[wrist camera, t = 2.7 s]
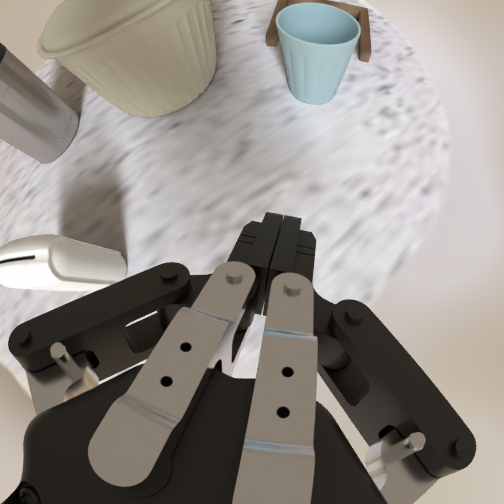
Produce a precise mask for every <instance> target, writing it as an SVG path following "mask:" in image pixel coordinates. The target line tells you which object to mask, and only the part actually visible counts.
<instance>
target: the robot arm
mask: <svg viewBox="0 0 504 504" xmlns="http://www.w3.org/2000/svg"><path fill="white" fill-rule="evenodd" d="M78 123H79V117H78V114H77V112H76V111H75V110H74V109H73V108H72V107H71V106H69V105H68V104H67V103H66V102H65V101H64V100H63V99H62V98H61V97H60V96H58V95H57V94H56V93H55V92H54V91H53V90H52V89H51V88H50V87H49V86H47V85H46V84H45V83H44V82H43V81H42V80H41V79H40V78H39V77H37V76H36V75H35V74H34V73H33V72H32V71H31V70H30V69H29V68H28V67H26V66H25V65H24V64H23V63H22V62H21V61H20V60H19V59H17V58H16V57H15V56H14V55H13V54H12V53H11V52H10V51H9V50H8V49H7V48H6V47H5V46H4V45H2V44H1V43H0V139H2V140H3V141H5V142H7V143H9V144H10V145H12V146H14V147H15V148H17V149H19V150H20V151H22V152H24V153H25V154H27V155H29V156H31V157H32V158H34V159H36V160H37V161H39V162H41V163H49V162H52V161H53V160H55V159H56V158H58V157H59V156H60V155H61V154H62V153H63V152H64V151H65V150H66V148H67V147H68V146H69V144H70V143H71V141H72V139H73V137H74V135H75V133H76V131H77V128H78ZM301 219H302V218H297V217H292V216H287V215H285V216H284V219H283V215H281V214H276V213H270V212H266V214H265V216H264V219H263V221H262V223H260V222H255V221H251V222H250V223H248V224H247V225H246V226H244V228H243V230H242V232H241V234H240V236H239V238H238V240H237V242H236V244H235V246H234V248H233V250H232V252H231V254H230V257H229V259H228V261H227V262H226V263H223V264H221V265H219V266H218V267H217V268H216V269H215V270H214V272H213V273H212V274H208V275H190V273H189V270H188V269H187V268H186V267H185V266H184V265H182V264H180V263H175V262H169V263H163V264H160V265H158V266H155V267H153V268H151V269H148V270H146V271H143V272H141V273H138V274H136V275H133V276H131V277H129V278H126V279H124V280H121V281H119V282H117V283H114V284H112V285H109V286H107V287H105V288H102V289H100V290H98V291H95V292H93V293H91V294H88V295H86V296H83V297H81V298H79V299H76V300H74V301H72V302H70V303H67V304H65V305H63V306H60V307H58V308H56V309H53V310H51V311H49V312H47V313H44V314H42V315H40V316H38V317H35V318H33V319H31V320H29V321H26V322H24V323H22V324H20V325H18V326H17V327H16V328H15V329H14V330H13V331H12V333H11V335H10V337H9V341H8V347H9V350H10V352H11V353H12V354H13V356H14V357H15V358H16V359H17V360H18V361H19V363H20V364H21V365H22V367H23V368H24V369H25V371H26V374H27V378H28V383H29V387H30V392H31V396H32V400H33V403H34V407H35V411H36V414H37V416H36V417H35V418H34V419H33V420H32V421H31V423H30V424H29V426H28V427H27V430H26V432H25V436H24V443H23V447H24V449H23V450H24V459H23V460H24V462H23V472H22V478H21V481H20V484H19V486H18V487H17V489H16V490H15V491H14V492H13V493H12V494H11V495H10V496H9V497H8V498H7V499H6V500H5V501H4V502H2V503H1V504H413V503H414V502H415V501H416V500H417V499H419V498H420V497H421V496H422V495H423V494H424V493H425V492H426V491H427V490H428V489H429V488H430V487H431V486H432V485H433V484H434V483H435V482H436V481H437V480H438V479H440V478H442V477H444V476H447V475H449V474H452V473H454V472H457V471H459V470H461V469H464V468H465V467H467V466H468V465H469V464H470V463H471V462H472V460H473V458H474V456H475V452H476V441H475V438H474V436H473V434H472V432H471V431H470V430H469V428H468V427H467V426H466V424H465V423H464V422H463V420H462V419H461V418H460V416H459V415H458V414H457V412H456V411H455V410H454V409H453V407H451V405H450V404H449V402H448V401H447V400H446V399H445V397H444V396H443V395H442V393H441V392H440V391H439V390H438V388H437V387H436V386H435V385H434V384H433V382H432V381H431V380H430V379H429V377H428V376H427V375H426V374H425V373H424V371H423V370H422V369H421V368H420V366H419V365H418V364H417V363H416V362H415V360H414V359H413V358H412V357H411V356H410V355H409V353H408V352H407V351H406V350H405V349H404V348H403V346H402V345H401V344H400V343H399V342H398V340H397V339H396V338H395V337H394V336H393V335H392V334H391V332H390V331H389V330H388V329H387V328H386V327H385V326H384V324H383V323H382V322H381V321H380V320H379V319H378V318H377V317H376V315H375V314H374V313H373V312H372V311H371V310H370V309H369V308H368V307H367V306H366V305H365V304H363V303H361V302H359V301H356V300H349V299H347V300H342V301H340V302H338V303H337V304H333V303H331V302H329V301H327V300H325V299H323V298H322V297H321V296H319V295H318V294H317V292H316V291H315V290H314V288H313V284H312V279H313V270H314V259H315V248H316V239H315V237H314V235H313V233H312V232H308V231H303V230H300V225H301ZM264 302H265V304H264ZM263 306H264V310H263V315H265V316H266V321H265V327H264V333H263V339H262V345H261V351H260V356H259V362H258V368H257V374H256V379H242V378H233V377H231V376H232V372H233V369H234V366H235V364H236V362H237V359H238V357H239V355H240V352H241V350H242V347H243V345H244V343H245V340H246V338H247V335H248V333H249V330H250V325H251V323H252V321H253V318H254V314H259V315H261V313H262V309H263ZM154 311H157V313H156V314H153V315H151V316H149V317H147V318H145V319H142V320H140V321H138V322H136V323H134V324H131V325H129V326H127V327H125V326H126V325H127V324H129V323H130V322H132V321H135V320H137V319H139V318H141V317H143V316H146V315H148V314H150V313H152V312H154ZM146 359H147V361H146V362H145V363H144V364H141V365H138V366H136V367H134V368H132V369H130V370H128V371H126V372H124V373H122V374H120V375H118V376H116V377H114V378H112V379H110V380H108V381H106V382H104V383H102V384H100V385H98V382H99V381H101V380H103V379H105V378H107V377H110V376H112V375H114V374H116V373H118V372H120V371H122V370H125V369H127V368H129V367H131V366H133V365H135V364H137V363H139V362H141V361H143V360H146ZM317 372H318V373H319V375H320V376H321V378H322V379H323V380H324V382H325V383H326V385H327V386H328V388H329V389H330V391H331V392H332V394H333V395H334V396H335V398H336V399H337V401H338V402H339V403H340V405H341V406H342V408H343V409H344V411H345V412H346V414H347V415H348V417H349V418H350V419H351V421H352V422H353V424H354V425H355V427H356V428H357V430H358V431H359V432H360V434H361V435H362V436H363V438H364V440H365V441H366V442H367V444H368V445H369V449H368V451H367V453H366V459H365V461H366V466H367V468H368V470H369V473H370V475H369V473H368V472H367V470H366V469H365V467H364V466H363V464H362V462H361V461H360V459H359V458H358V456H357V454H356V453H355V451H354V449H353V448H352V446H351V445H350V443H349V442H348V440H347V438H346V437H345V435H344V434H343V432H342V430H341V429H340V427H339V425H338V424H337V422H336V421H335V419H334V418H333V416H332V415H331V414H330V413H329V411H328V410H327V409H326V408H325V407H323V406H322V404H320V403H319V402H317V401H316V385H317Z"/></svg>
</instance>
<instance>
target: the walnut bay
mask: <svg viewBox="0 0 504 504" xmlns="http://www.w3.org/2000/svg"><path fill="white" fill-rule="evenodd" d="M307 2H312V3H322V4H327V5H331V6H334V7H337V8H339V9H342V10H344V11H346V12H347V13H349V14H350V15H351V16H353V17H354V18H355V19H359V25H360V28H361V34H360V36H359V60H361V61H365V62H369V58H370V55H371V39H370V26H369V16H368V9H367V8H363V7H359V6H354V5H350V4H345V3H340V2H334V1H328V0H279V1H278V3H277V6H276V9H275V12H274V14H273V17H272V20H271V23H270V25H269V28H268V31H267V34H266V39H267V46H276V45H277V42H278V38H279V35H278V30H277V26H276V16H277V14H278V13H279V12H280V11H281V10H282V9H284V8H285V7H288V6H290V5H293V4H298V3H307Z"/></svg>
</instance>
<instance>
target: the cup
mask: <svg viewBox="0 0 504 504" xmlns="http://www.w3.org/2000/svg"><path fill="white" fill-rule="evenodd" d="M276 26H277V30H278V35H279V39H280V44H281V48H282V53H283V58H284V63H285V68H286V74H287V79H288V84H289V88H290V91H291V93H292V95H293V96H294V97H296V98H297V99H298V100H300V101H302V102H304V103H307V104H315V105H319V104H324V103H326V102H329V101H330V100H331V99H332V98H333V97H334V96H335V94H336V92H337V90H338V87H339V85H340V82H341V80H342V78H343V75H344V73H345V70H346V68H347V66H348V63H349V61H350V58H351V56H352V53H353V51H354V48H355V46H356V44H357V41H358V39H359V36H360V34H361V28H360V25H359V23H358V22H357V20H356V19H355V18H354V17H353V16H351V15H350V14H349V13H347V12H346V11H344V10H342V9H339V8H337V7H334V6H331V5H327V4H322V3H312V2H307V3H298V4H293V5H290V6H288V7H285V8H284V9H282V10H281V11H280V12H279V13H278V14H277V16H276Z"/></svg>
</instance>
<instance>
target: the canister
mask: <svg viewBox="0 0 504 504" xmlns="http://www.w3.org/2000/svg"><path fill="white" fill-rule="evenodd" d="M37 52H38V54H39V55H40V56H41V57H42V58H46V59H55V60H57V61H58V62H59V63H60V64H61V65H63V66H64V67H65V68H66V69H68V70H69V71H70V72H71V73H73V74H74V75H75V76H77V77H78V78H79V79H80V80H82V81H83V82H84V83H85V84H87V85H88V86H89V87H90V88H92V89H93V90H94V91H96V92H97V93H98V94H99V95H101V96H102V97H103V98H105V99H106V100H107V101H109V102H110V103H111V104H113V105H114V106H115V107H117V108H118V109H120V110H122V111H123V112H125V113H127V114H129V115H133V116H135V117H143V118H148V117H151V118H154V117H157V116H159V117H161V116H163V115H166V114H170V113H172V112H175V111H177V110H179V109H181V108H184V107H185V106H186V105H187V104H190V103H191V102H192V101H193V100H194V99H196V98H198V96H199V95H200V94H201V93H203V92H204V90H205V88H207V87H208V85H209V82H210V81H211V80H212V78H213V75H214V73H215V69H216V63H217V55H216V44H215V34H214V26H213V18H212V10H211V3H210V0H64V1H63V2H62V3H61V4H60V5H59V6H58V7H57V8H56V9H55V11H54V12H53V13H52V15H51V16H50V18H49V19H48V21H47V22H46V24H45V27H44V29H43V32H42V34H41V36H40V38H39V41H38V44H37Z"/></svg>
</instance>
